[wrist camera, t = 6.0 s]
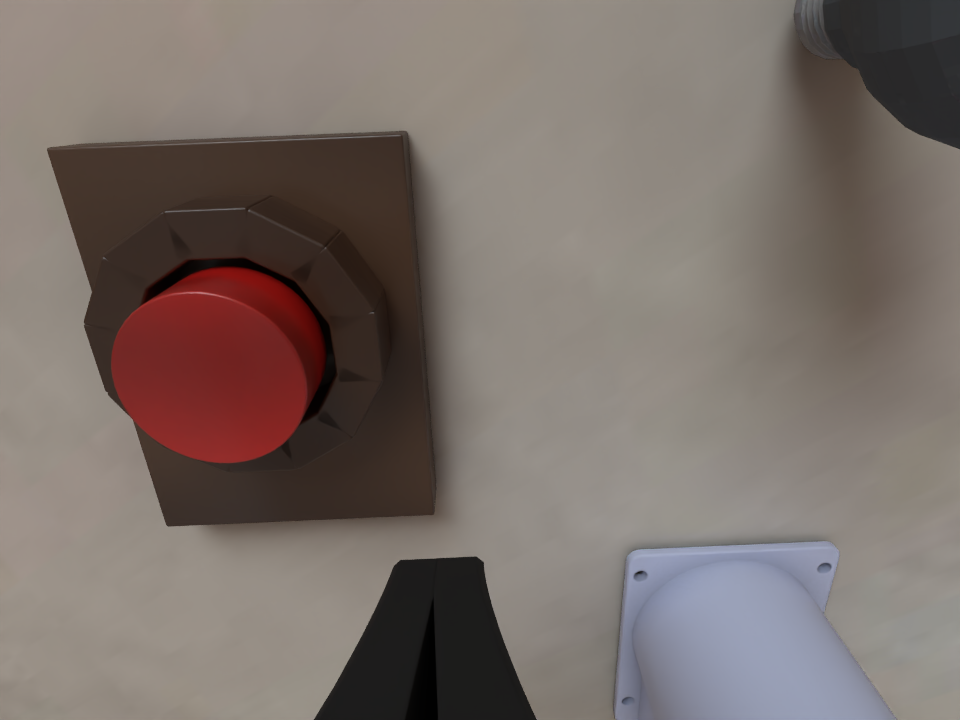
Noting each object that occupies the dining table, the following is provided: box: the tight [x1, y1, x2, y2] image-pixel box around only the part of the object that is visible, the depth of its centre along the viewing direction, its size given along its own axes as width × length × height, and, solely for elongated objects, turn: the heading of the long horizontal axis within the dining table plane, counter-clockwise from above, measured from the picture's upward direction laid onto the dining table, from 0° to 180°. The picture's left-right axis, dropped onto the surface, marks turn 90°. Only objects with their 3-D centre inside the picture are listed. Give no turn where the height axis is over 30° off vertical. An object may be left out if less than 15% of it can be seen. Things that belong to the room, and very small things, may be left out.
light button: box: [111, 266, 327, 463], centre depth 14 cm, size 4×4×2 cm
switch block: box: [47, 131, 436, 526], centre depth 17 cm, size 12×9×4 cm
